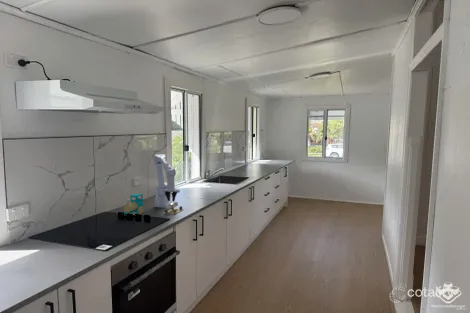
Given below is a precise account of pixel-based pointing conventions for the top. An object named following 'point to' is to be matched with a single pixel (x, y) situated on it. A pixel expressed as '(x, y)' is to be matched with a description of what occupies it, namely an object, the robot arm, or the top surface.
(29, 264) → the top surface
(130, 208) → the toy train
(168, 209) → the tube
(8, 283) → the top surface
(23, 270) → the top surface
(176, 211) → the collar board
